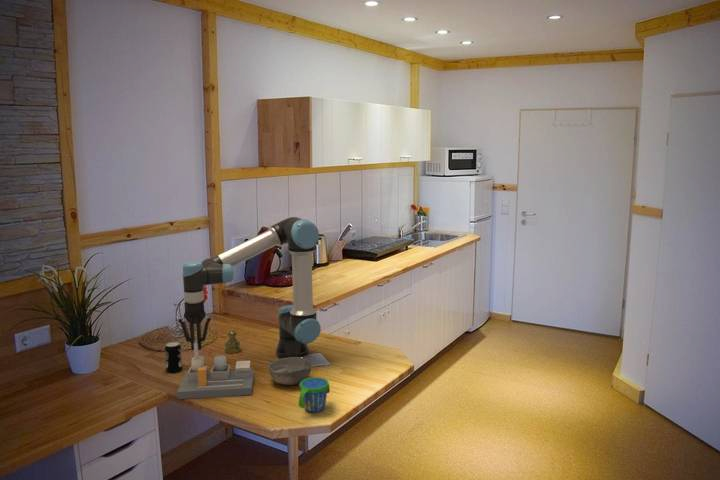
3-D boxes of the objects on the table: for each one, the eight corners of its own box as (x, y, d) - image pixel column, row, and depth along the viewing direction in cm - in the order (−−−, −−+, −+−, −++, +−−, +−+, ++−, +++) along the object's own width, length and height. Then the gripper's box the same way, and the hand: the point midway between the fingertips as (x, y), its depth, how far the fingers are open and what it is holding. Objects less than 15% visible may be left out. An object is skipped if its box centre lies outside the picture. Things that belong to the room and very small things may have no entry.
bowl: (294, 370, 248) (293, 352, 247) (320, 381, 236) (320, 363, 234) (259, 382, 236) (259, 363, 234) (285, 394, 223) (285, 375, 222)
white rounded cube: (204, 367, 235) (204, 356, 234) (203, 372, 230) (202, 360, 230) (192, 368, 235) (192, 356, 234) (190, 372, 230) (190, 361, 229)
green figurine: (243, 351, 271) (242, 331, 269) (228, 354, 267) (227, 334, 265) (237, 347, 277) (236, 327, 275) (222, 350, 273) (221, 330, 271)
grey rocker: (250, 363, 237) (250, 360, 237) (249, 370, 233) (249, 367, 232) (236, 364, 237) (236, 361, 236) (235, 371, 232) (235, 368, 232)
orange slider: (207, 383, 226) (206, 367, 225) (206, 387, 223) (205, 369, 222) (199, 384, 226) (198, 367, 225) (198, 387, 223) (197, 370, 222)
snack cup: (309, 420, 202) (309, 393, 200) (289, 412, 209) (288, 385, 207) (339, 405, 214) (339, 379, 212) (319, 397, 221) (318, 372, 219)
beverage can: (177, 373, 245) (175, 347, 243) (163, 372, 246) (161, 346, 244) (185, 368, 251) (183, 341, 249) (171, 367, 252) (169, 341, 250)
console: (254, 376, 241) (253, 362, 240) (251, 395, 223) (250, 379, 222) (185, 380, 238) (185, 365, 237) (177, 399, 220) (176, 383, 219)
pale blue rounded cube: (227, 366, 236) (226, 354, 235) (226, 371, 231) (225, 359, 231) (215, 367, 236) (214, 355, 235) (213, 371, 231) (213, 359, 230)
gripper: (212, 297, 232) (214, 353, 236) (179, 299, 231) (182, 354, 234) (209, 302, 225) (212, 360, 229) (175, 303, 223) (178, 361, 227)
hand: (196, 357), depth 231 cm, fingers closed
